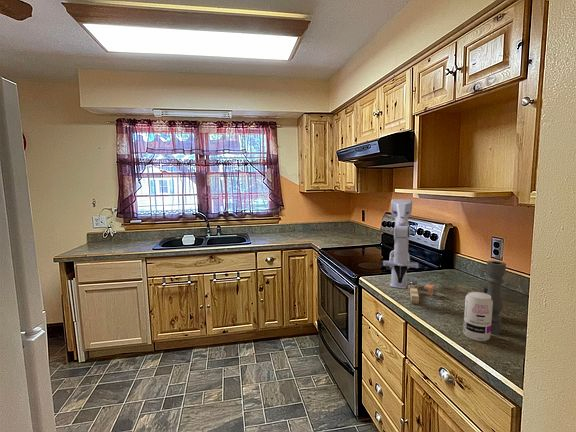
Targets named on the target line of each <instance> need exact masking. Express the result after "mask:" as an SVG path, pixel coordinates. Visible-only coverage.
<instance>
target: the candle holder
mask: <svg viewBox="0 0 576 432" xmlns="http://www.w3.org/2000/svg"><path fill="white" fill-rule="evenodd" d="M506 269H507V263H505V262H502V261H496V260H488V261H486V273H487V275H488V277H487V278H486V281H487V283H488V285H487V286H488V291H487V294H488V295H490V296H491V298H492V300H493V308H492V321H491V334H493V335H499V334H502V332H503V331H502V329H503V322H502V317H501V316H500V314H501V312H502V311H503V310H504V302H503V297H502V293H501V292H502V284H504V283H505V280H504V279H503V278H504V276H505V274H506Z"/></svg>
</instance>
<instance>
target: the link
mask: <svg viewBox="0 0 576 432" xmlns="http://www.w3.org/2000/svg"><path fill="white" fill-rule="evenodd" d="M419 294H420V288H419V285H418V284H416V285H415V288H414V287H411V284H408V285H407V295H409V296H410V303H411V304H416V305H419V302H420V296H419Z"/></svg>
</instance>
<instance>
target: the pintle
mask: <svg viewBox="0 0 576 432" xmlns="http://www.w3.org/2000/svg"><path fill="white" fill-rule="evenodd" d="M409 284H410V285H411V287H414V288H415V285H418V281H417V280H410V281H409Z"/></svg>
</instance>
